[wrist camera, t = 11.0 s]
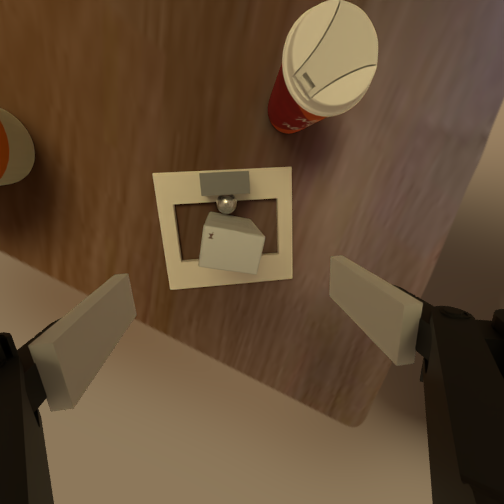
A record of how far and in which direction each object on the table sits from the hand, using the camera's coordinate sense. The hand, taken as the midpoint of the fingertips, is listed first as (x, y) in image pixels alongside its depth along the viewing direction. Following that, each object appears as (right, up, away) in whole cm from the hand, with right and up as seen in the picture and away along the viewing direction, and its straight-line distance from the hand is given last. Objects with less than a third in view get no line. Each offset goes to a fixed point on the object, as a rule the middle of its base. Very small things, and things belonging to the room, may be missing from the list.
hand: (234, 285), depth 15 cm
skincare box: (-2, +5, +20) cm, 21 cm away
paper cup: (+6, +20, +17) cm, 27 cm away
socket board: (-2, +5, +20) cm, 20 cm away
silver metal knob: (-2, +9, +16) cm, 19 cm away
